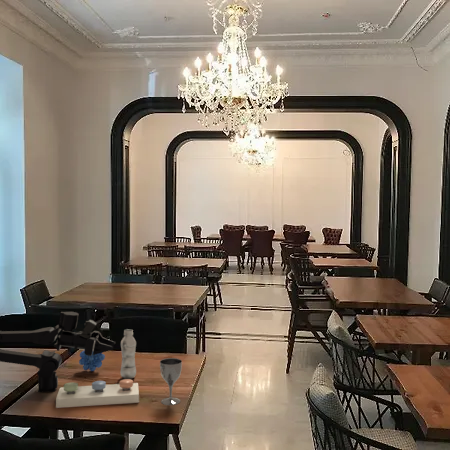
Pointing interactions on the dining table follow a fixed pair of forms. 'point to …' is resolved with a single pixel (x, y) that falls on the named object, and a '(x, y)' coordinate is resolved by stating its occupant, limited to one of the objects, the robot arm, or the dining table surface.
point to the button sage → (70, 387)
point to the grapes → (91, 361)
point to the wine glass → (170, 376)
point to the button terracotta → (126, 384)
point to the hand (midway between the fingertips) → (114, 346)
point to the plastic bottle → (128, 355)
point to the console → (97, 396)
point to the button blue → (98, 385)
